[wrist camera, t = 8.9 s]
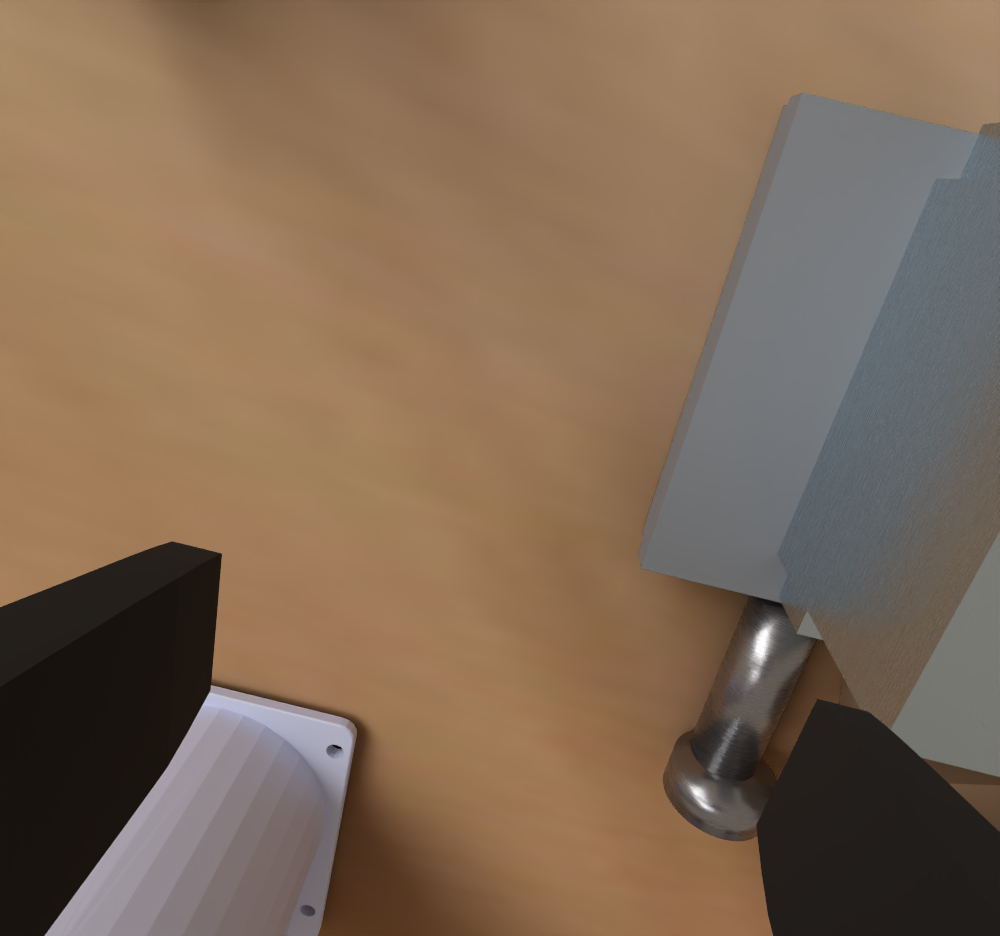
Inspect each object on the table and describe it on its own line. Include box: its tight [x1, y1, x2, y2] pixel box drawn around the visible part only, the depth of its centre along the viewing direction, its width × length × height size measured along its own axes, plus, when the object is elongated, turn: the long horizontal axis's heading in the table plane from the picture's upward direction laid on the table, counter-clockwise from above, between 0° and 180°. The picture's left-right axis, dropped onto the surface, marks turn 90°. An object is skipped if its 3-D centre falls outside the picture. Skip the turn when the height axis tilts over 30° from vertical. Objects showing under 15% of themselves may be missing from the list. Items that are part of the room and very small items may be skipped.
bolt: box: [663, 595, 817, 841], centre depth 19 cm, size 6×3×3 cm, turn 168°
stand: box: [638, 93, 979, 603], centre depth 16 cm, size 10×10×2 cm
